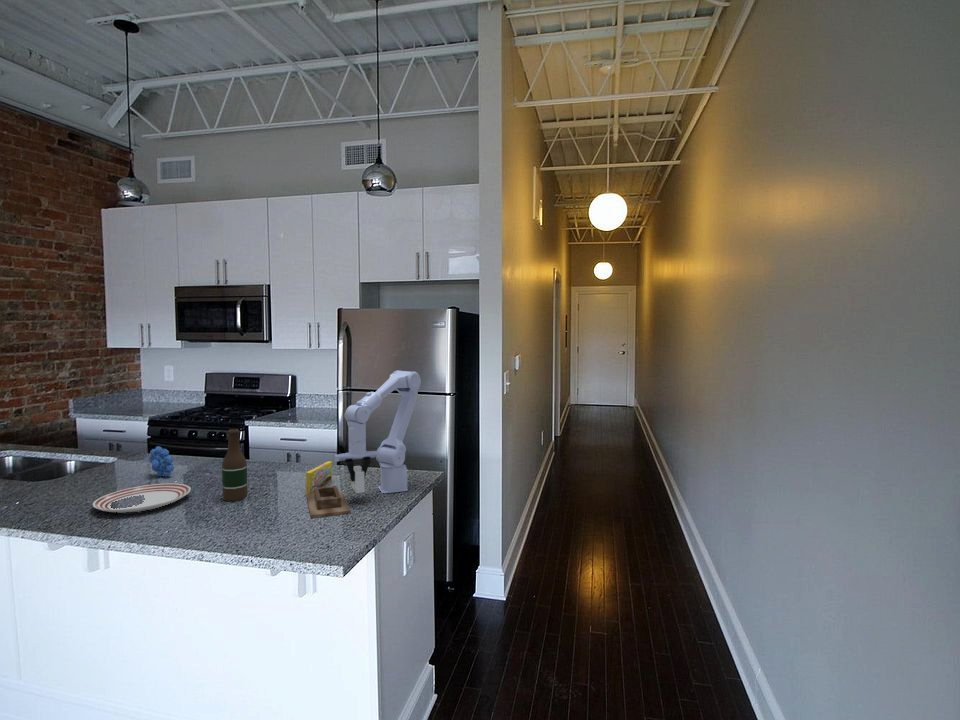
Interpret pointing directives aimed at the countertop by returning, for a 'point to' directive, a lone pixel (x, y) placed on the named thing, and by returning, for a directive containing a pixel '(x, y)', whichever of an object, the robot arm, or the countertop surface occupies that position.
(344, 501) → the walnut well stand
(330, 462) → the candy box
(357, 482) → the grey rectangular block
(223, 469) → the beer bottle
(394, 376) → the robot arm
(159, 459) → the grapes
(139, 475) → the countertop surface
